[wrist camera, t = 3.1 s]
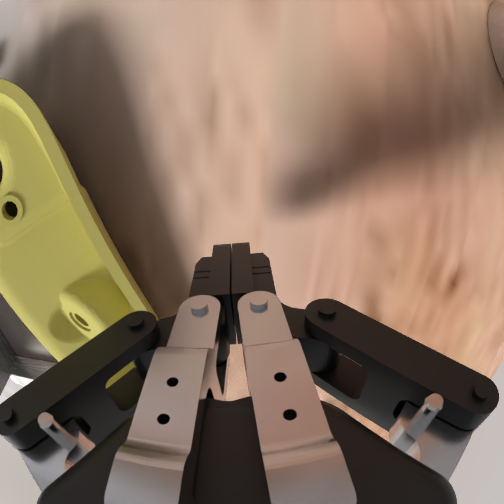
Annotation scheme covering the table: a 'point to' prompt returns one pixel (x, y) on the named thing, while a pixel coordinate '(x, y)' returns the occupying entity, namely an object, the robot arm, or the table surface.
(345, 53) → the table surface
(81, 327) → the plastic component
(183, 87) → the table surface
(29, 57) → the table surface
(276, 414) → the robot arm
